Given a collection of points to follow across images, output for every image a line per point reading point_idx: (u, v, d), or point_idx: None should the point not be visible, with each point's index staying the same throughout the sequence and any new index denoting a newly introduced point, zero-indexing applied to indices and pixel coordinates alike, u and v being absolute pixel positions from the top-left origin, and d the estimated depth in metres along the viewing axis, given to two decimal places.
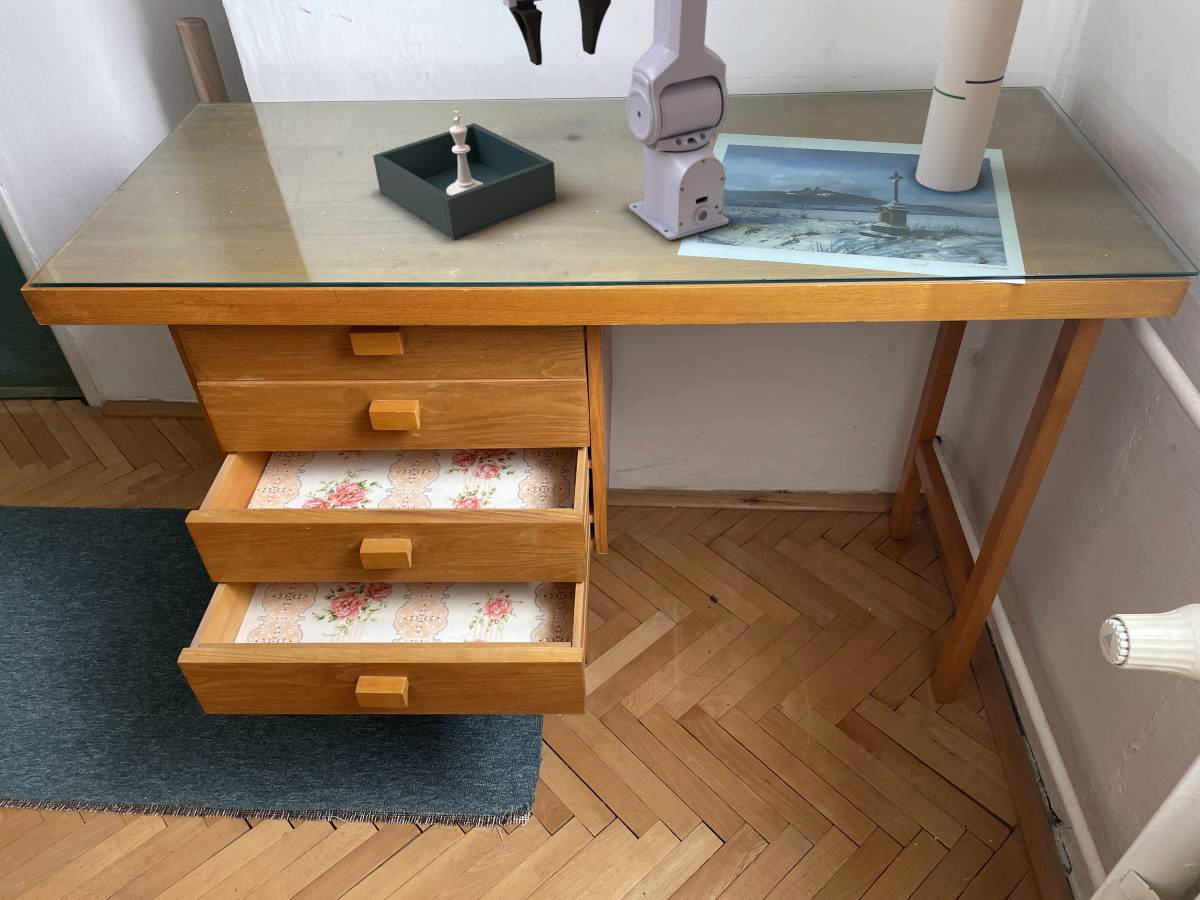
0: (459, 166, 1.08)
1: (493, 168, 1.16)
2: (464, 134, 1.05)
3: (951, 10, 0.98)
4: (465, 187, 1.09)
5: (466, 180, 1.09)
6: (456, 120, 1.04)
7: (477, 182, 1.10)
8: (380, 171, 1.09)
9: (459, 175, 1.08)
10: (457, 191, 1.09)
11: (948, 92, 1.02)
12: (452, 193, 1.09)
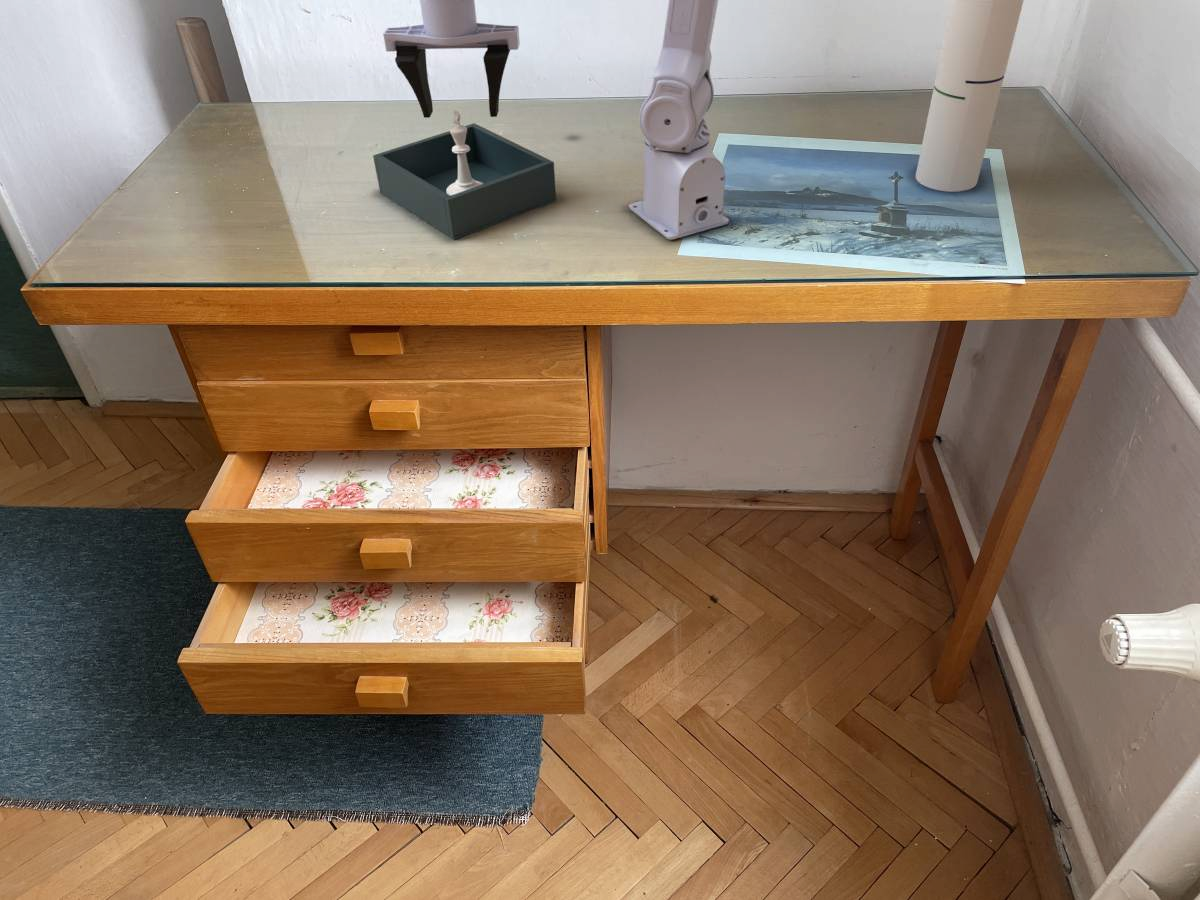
0: (459, 166, 1.08)
1: (493, 168, 1.16)
2: (464, 134, 1.05)
3: (951, 10, 0.98)
4: (465, 187, 1.09)
5: (466, 180, 1.09)
6: (456, 120, 1.04)
7: (477, 182, 1.10)
8: (380, 171, 1.09)
9: (459, 175, 1.08)
10: (457, 191, 1.09)
11: (948, 92, 1.02)
12: (452, 193, 1.09)
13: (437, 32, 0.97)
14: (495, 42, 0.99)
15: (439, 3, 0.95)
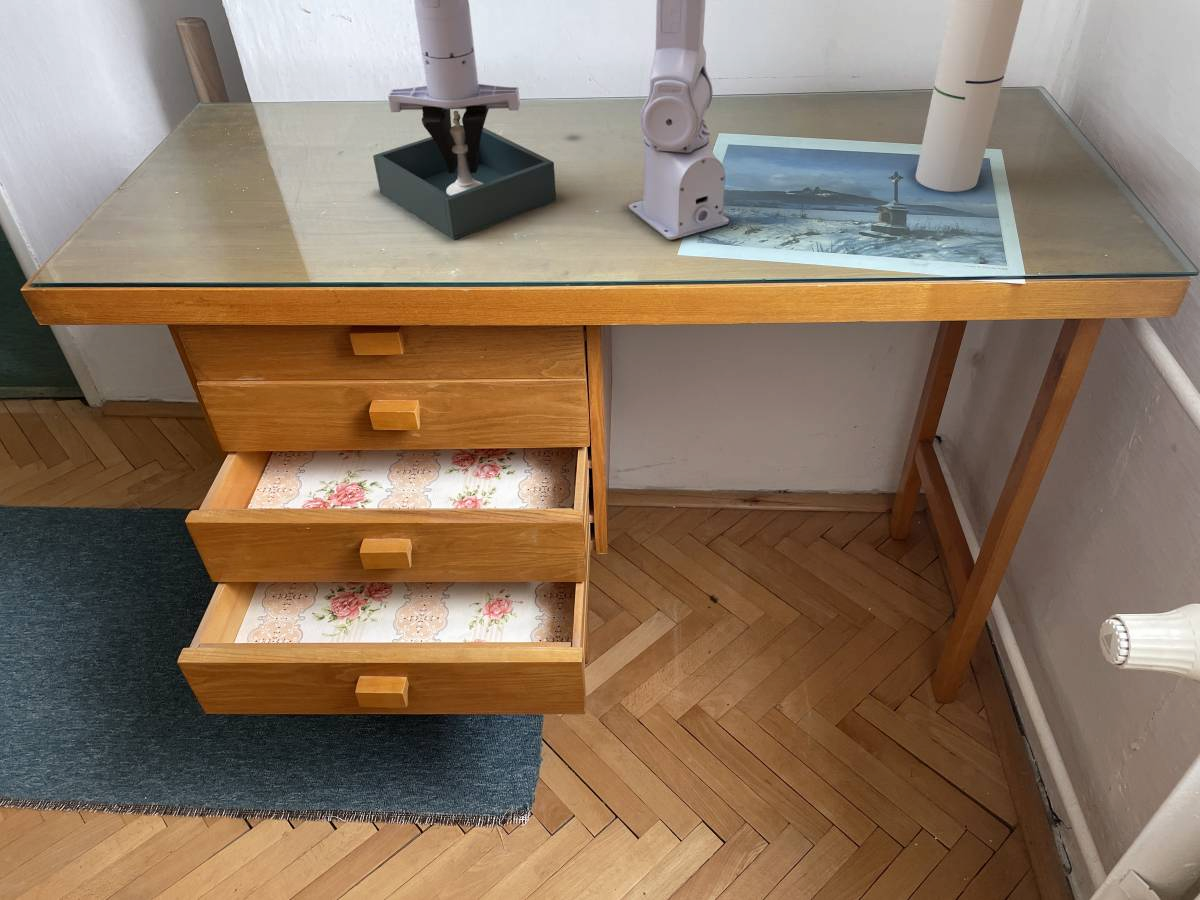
0: (459, 166, 1.08)
1: (493, 168, 1.16)
2: (464, 134, 1.05)
3: (951, 10, 0.98)
4: (465, 187, 1.09)
5: (466, 180, 1.09)
6: (456, 120, 1.04)
7: (477, 182, 1.10)
8: (380, 171, 1.09)
9: (459, 175, 1.08)
10: (457, 191, 1.09)
11: (948, 92, 1.02)
12: (452, 193, 1.09)
13: (440, 95, 1.00)
14: (496, 103, 1.03)
15: (442, 68, 0.98)
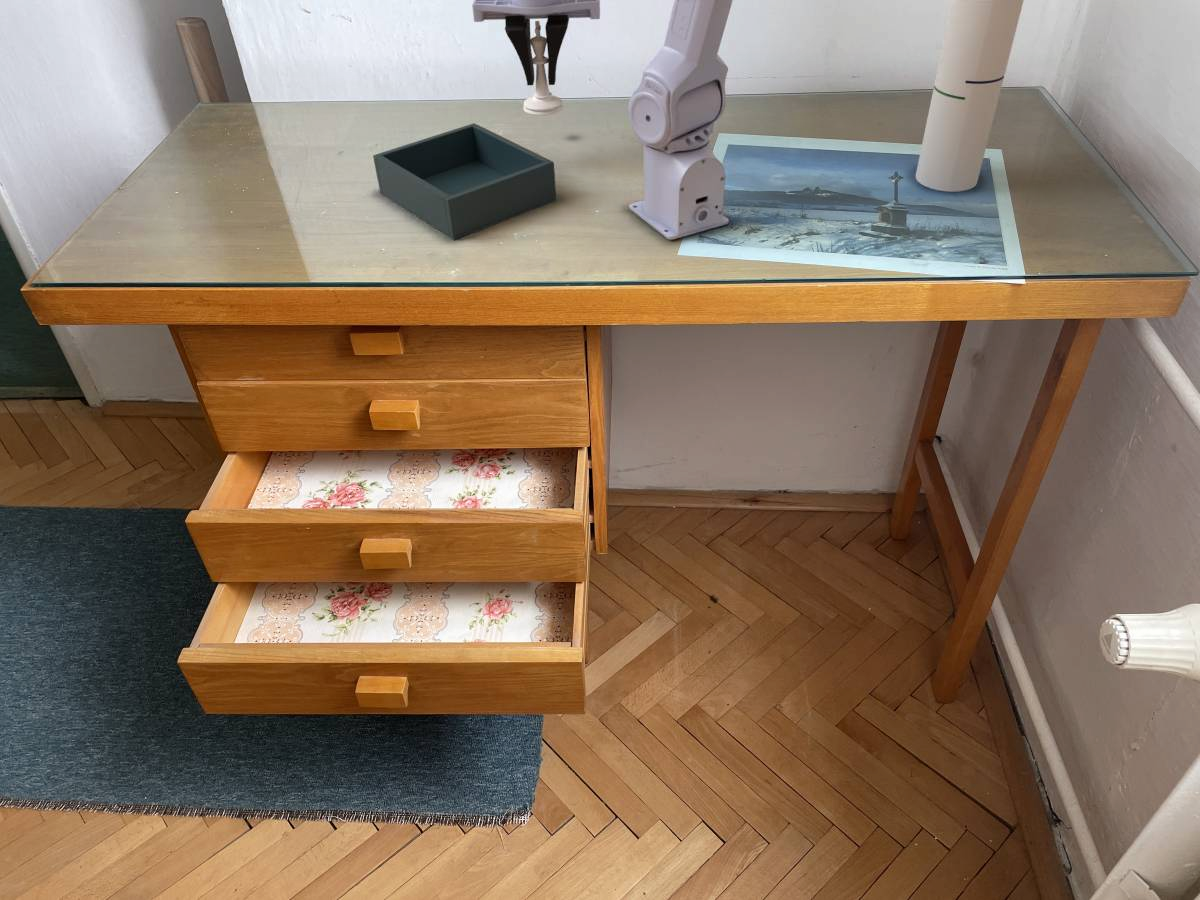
0: (538, 78, 1.10)
1: (493, 168, 1.16)
2: (544, 44, 1.07)
3: (951, 10, 0.98)
4: (543, 100, 1.11)
5: (544, 92, 1.10)
6: (537, 30, 1.06)
7: (553, 96, 1.12)
8: (380, 171, 1.09)
9: (537, 87, 1.10)
10: (535, 103, 1.11)
11: (948, 92, 1.02)
12: (530, 105, 1.11)
13: (525, 2, 1.02)
14: (578, 12, 1.05)
15: None
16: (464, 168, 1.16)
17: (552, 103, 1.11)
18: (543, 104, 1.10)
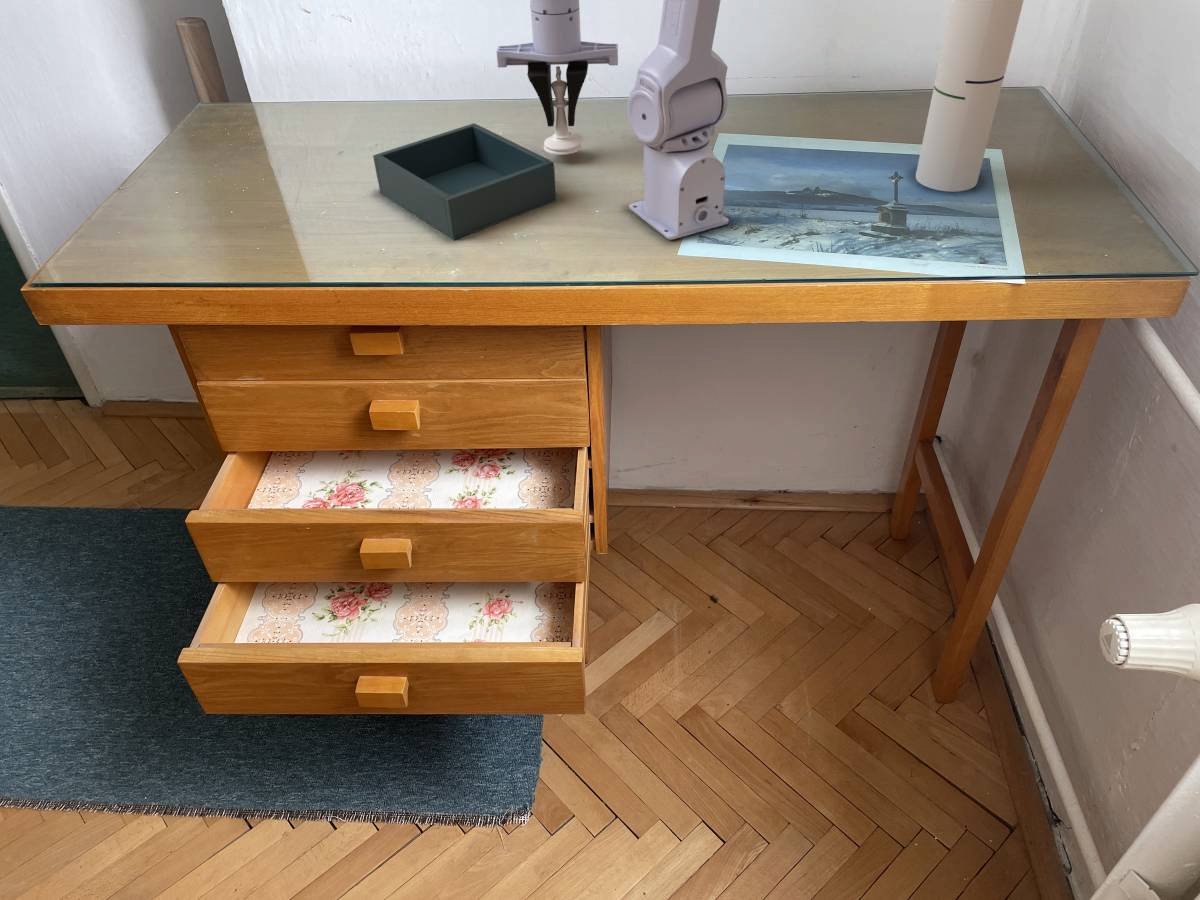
0: (558, 119, 1.15)
1: (493, 168, 1.16)
2: (565, 88, 1.12)
3: (951, 10, 0.98)
4: (562, 140, 1.16)
5: (564, 133, 1.16)
6: (558, 75, 1.11)
7: (572, 136, 1.17)
8: (380, 171, 1.09)
9: (557, 128, 1.15)
10: (555, 143, 1.16)
11: (948, 92, 1.02)
12: (550, 145, 1.16)
13: (547, 50, 1.07)
14: (597, 59, 1.10)
15: (551, 24, 1.05)
16: (464, 168, 1.16)
17: (571, 142, 1.16)
18: (563, 144, 1.15)
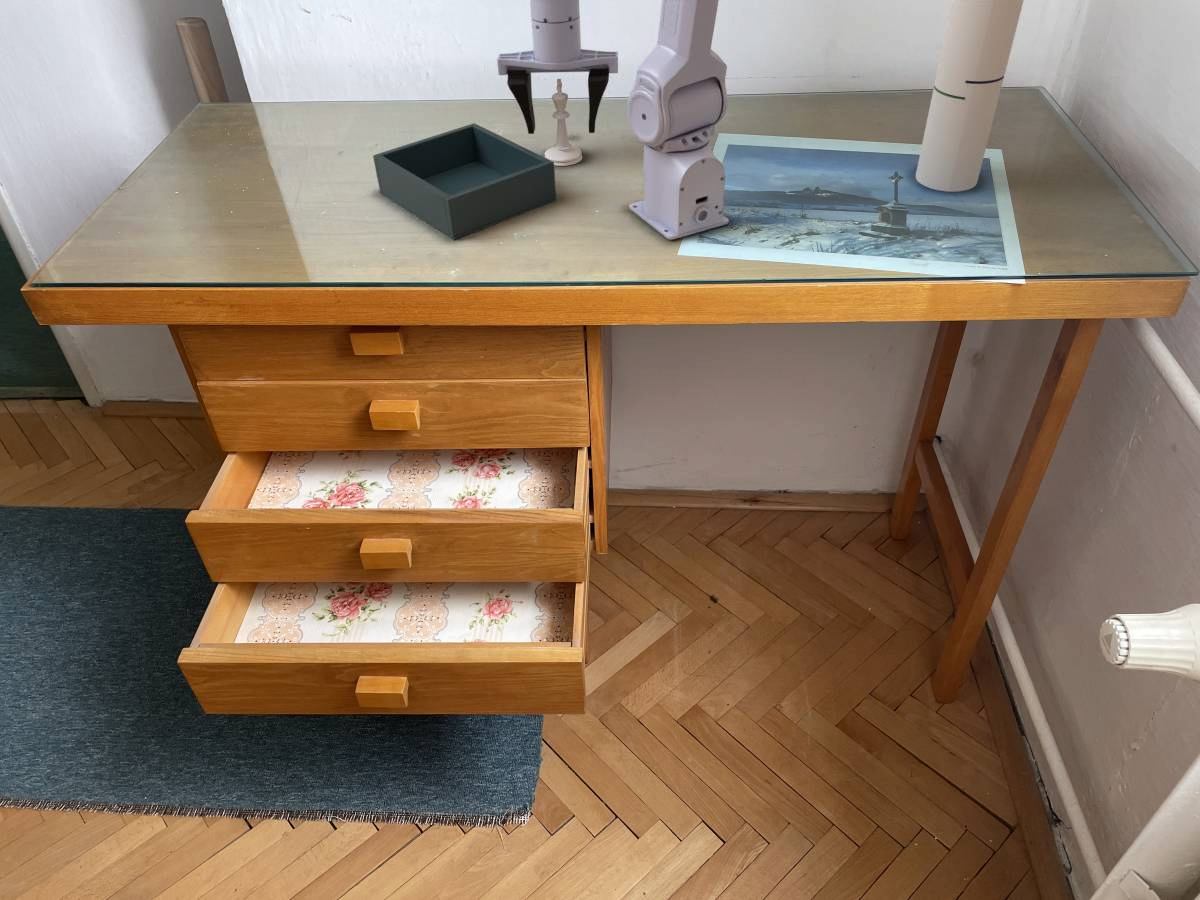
0: (558, 131, 1.16)
1: (493, 168, 1.16)
2: (565, 101, 1.13)
3: (951, 10, 0.98)
4: (563, 151, 1.17)
5: (564, 144, 1.17)
6: (559, 87, 1.12)
7: (573, 147, 1.18)
8: (380, 171, 1.09)
9: (558, 140, 1.16)
10: (556, 155, 1.17)
11: (948, 92, 1.02)
12: (551, 157, 1.17)
13: (547, 58, 1.08)
14: (597, 66, 1.11)
15: (551, 33, 1.06)
16: (464, 168, 1.16)
17: (572, 154, 1.17)
18: (563, 156, 1.16)
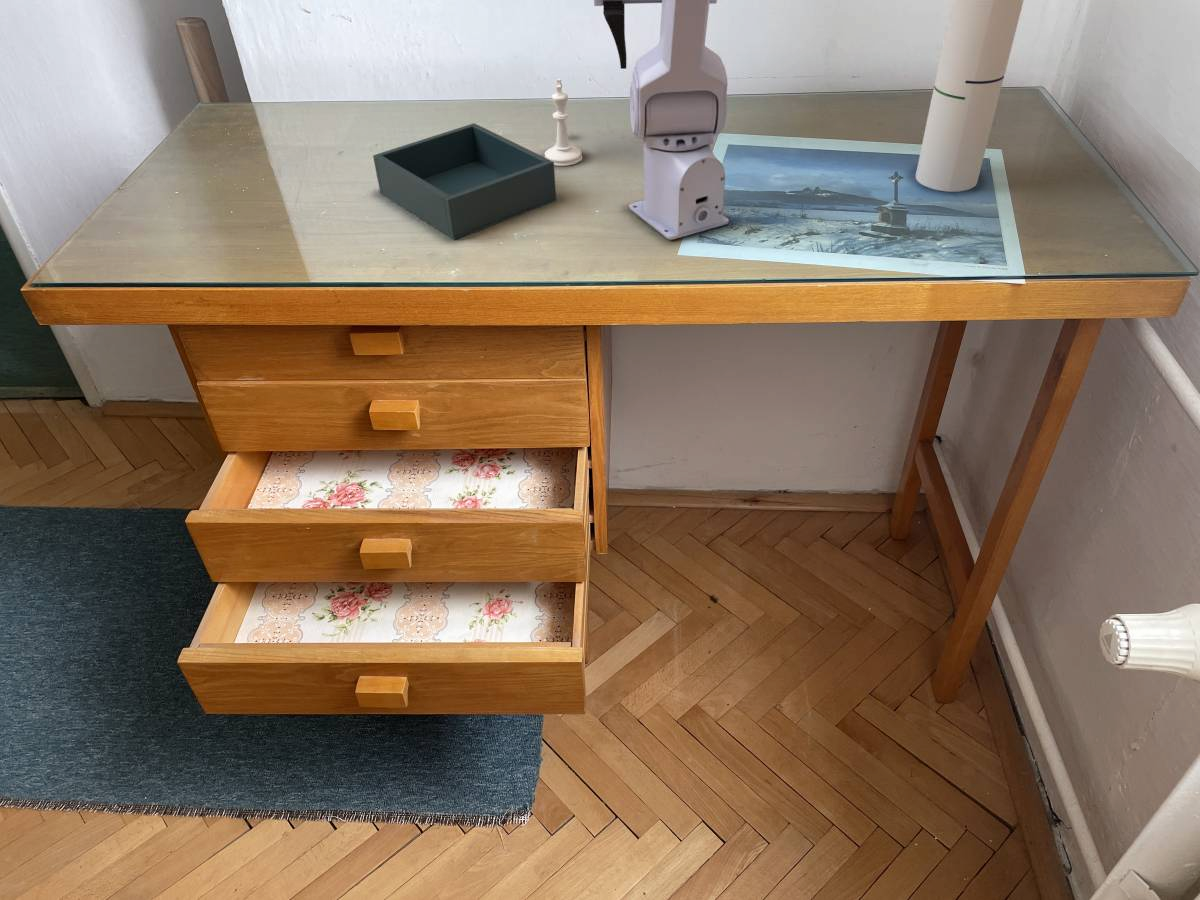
0: (558, 131, 1.16)
1: (493, 168, 1.16)
2: (565, 101, 1.13)
3: (951, 10, 0.98)
4: (563, 151, 1.17)
5: (564, 144, 1.17)
6: (559, 87, 1.12)
7: (573, 147, 1.18)
8: (380, 171, 1.09)
9: (558, 140, 1.16)
10: (556, 155, 1.17)
11: (948, 92, 1.02)
12: (551, 157, 1.17)
13: None
14: None
15: None
16: (464, 168, 1.16)
17: (572, 154, 1.17)
18: (563, 156, 1.16)
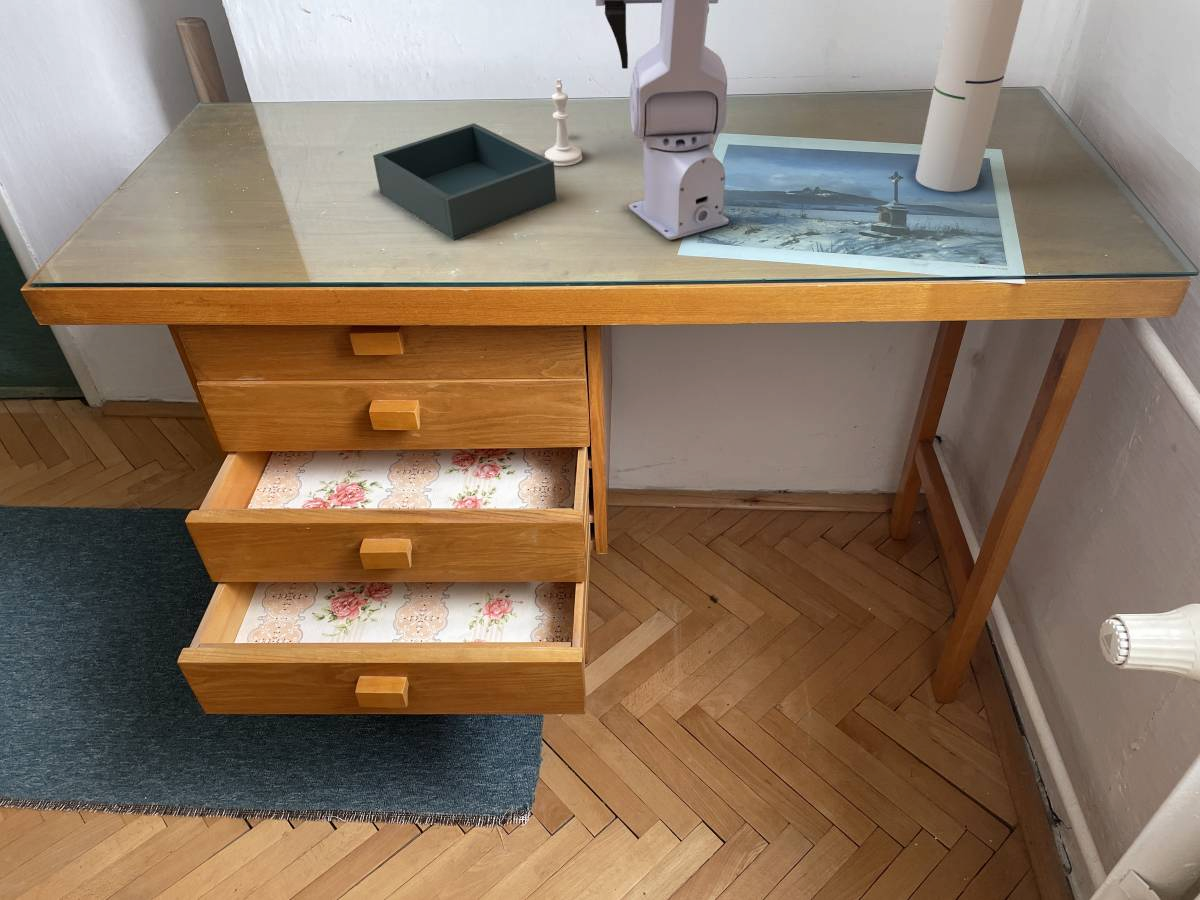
0: (558, 131, 1.16)
1: (493, 168, 1.16)
2: (565, 101, 1.13)
3: (951, 10, 0.98)
4: (563, 151, 1.17)
5: (564, 144, 1.17)
6: (559, 87, 1.12)
7: (573, 147, 1.18)
8: (380, 171, 1.09)
9: (558, 140, 1.16)
10: (556, 155, 1.17)
11: (948, 92, 1.02)
12: (551, 157, 1.17)
13: None
14: None
15: None
16: (464, 168, 1.16)
17: (572, 154, 1.17)
18: (563, 156, 1.16)
